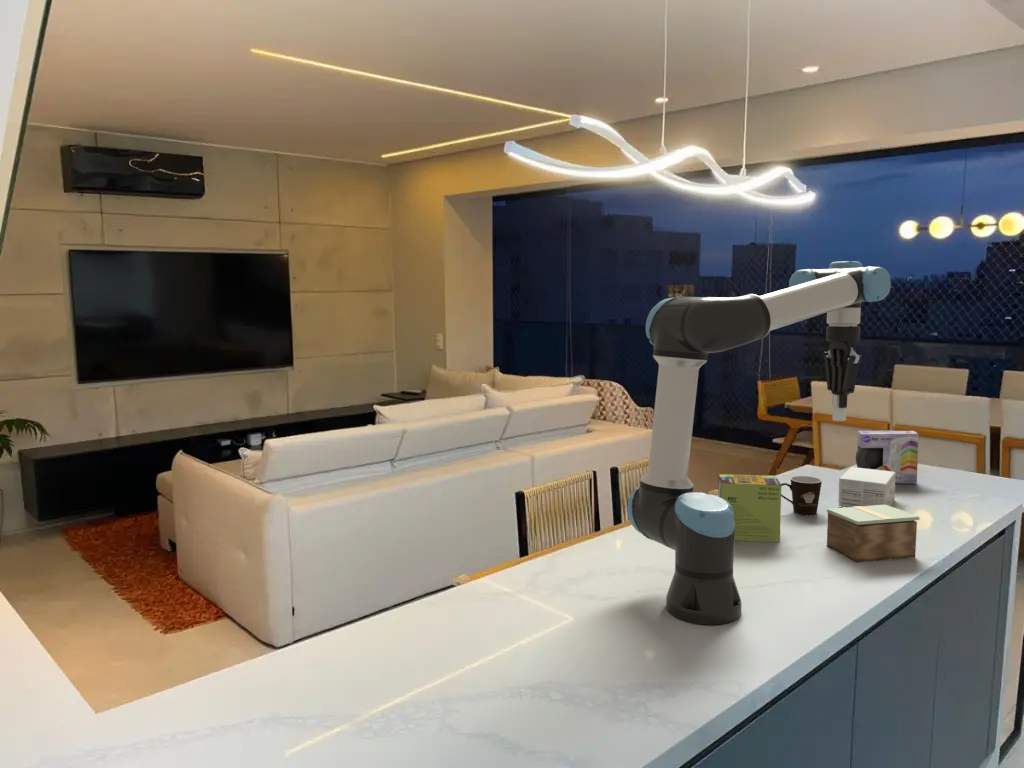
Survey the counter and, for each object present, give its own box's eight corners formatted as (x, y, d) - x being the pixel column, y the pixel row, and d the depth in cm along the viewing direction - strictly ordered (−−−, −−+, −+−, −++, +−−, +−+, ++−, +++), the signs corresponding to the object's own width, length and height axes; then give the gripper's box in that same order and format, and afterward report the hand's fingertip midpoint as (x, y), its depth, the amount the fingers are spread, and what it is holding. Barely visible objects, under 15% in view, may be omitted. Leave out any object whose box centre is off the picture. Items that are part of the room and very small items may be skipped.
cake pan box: (856, 483, 252) (858, 432, 250) (852, 480, 257) (854, 429, 255) (917, 485, 249) (920, 433, 246) (912, 481, 254) (914, 430, 251)
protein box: (780, 542, 195) (782, 484, 193) (719, 540, 198) (720, 482, 196) (775, 530, 205) (776, 475, 203) (717, 527, 208) (717, 473, 206)
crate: (856, 562, 179) (857, 526, 178) (826, 546, 191) (827, 512, 190) (915, 557, 182) (917, 521, 181) (882, 541, 194) (884, 508, 193)
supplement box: (849, 494, 239) (850, 466, 238) (894, 501, 231) (896, 471, 230) (837, 507, 225) (838, 477, 224) (885, 514, 218) (886, 483, 217)
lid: (857, 524, 178) (857, 521, 178) (826, 511, 190) (826, 508, 190) (919, 520, 181) (919, 516, 181) (885, 507, 193) (885, 504, 193)
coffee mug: (823, 510, 222) (824, 478, 220) (817, 518, 214) (818, 484, 213) (782, 505, 228) (783, 473, 227) (776, 512, 221) (776, 479, 219)
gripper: (874, 326, 176) (869, 424, 179) (841, 324, 189) (837, 415, 192) (845, 326, 175) (840, 425, 178) (814, 324, 188) (810, 416, 191)
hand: (839, 420), depth 185 cm, fingers closed
